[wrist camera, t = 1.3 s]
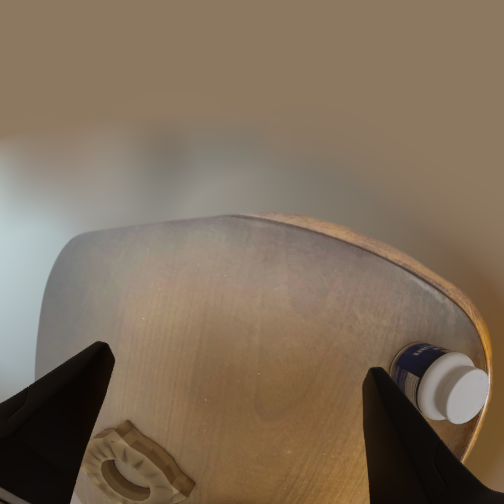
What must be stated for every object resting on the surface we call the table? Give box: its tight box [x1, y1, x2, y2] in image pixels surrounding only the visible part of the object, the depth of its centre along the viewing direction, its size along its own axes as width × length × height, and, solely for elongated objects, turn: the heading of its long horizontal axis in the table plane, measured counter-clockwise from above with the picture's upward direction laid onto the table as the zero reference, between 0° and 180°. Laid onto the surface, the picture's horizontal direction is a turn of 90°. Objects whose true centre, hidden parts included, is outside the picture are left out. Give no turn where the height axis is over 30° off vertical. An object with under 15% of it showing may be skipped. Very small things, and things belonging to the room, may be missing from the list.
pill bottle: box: [390, 342, 489, 424], centre depth 17 cm, size 5×5×10 cm
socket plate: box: [80, 420, 195, 504], centre depth 21 cm, size 11×11×3 cm
